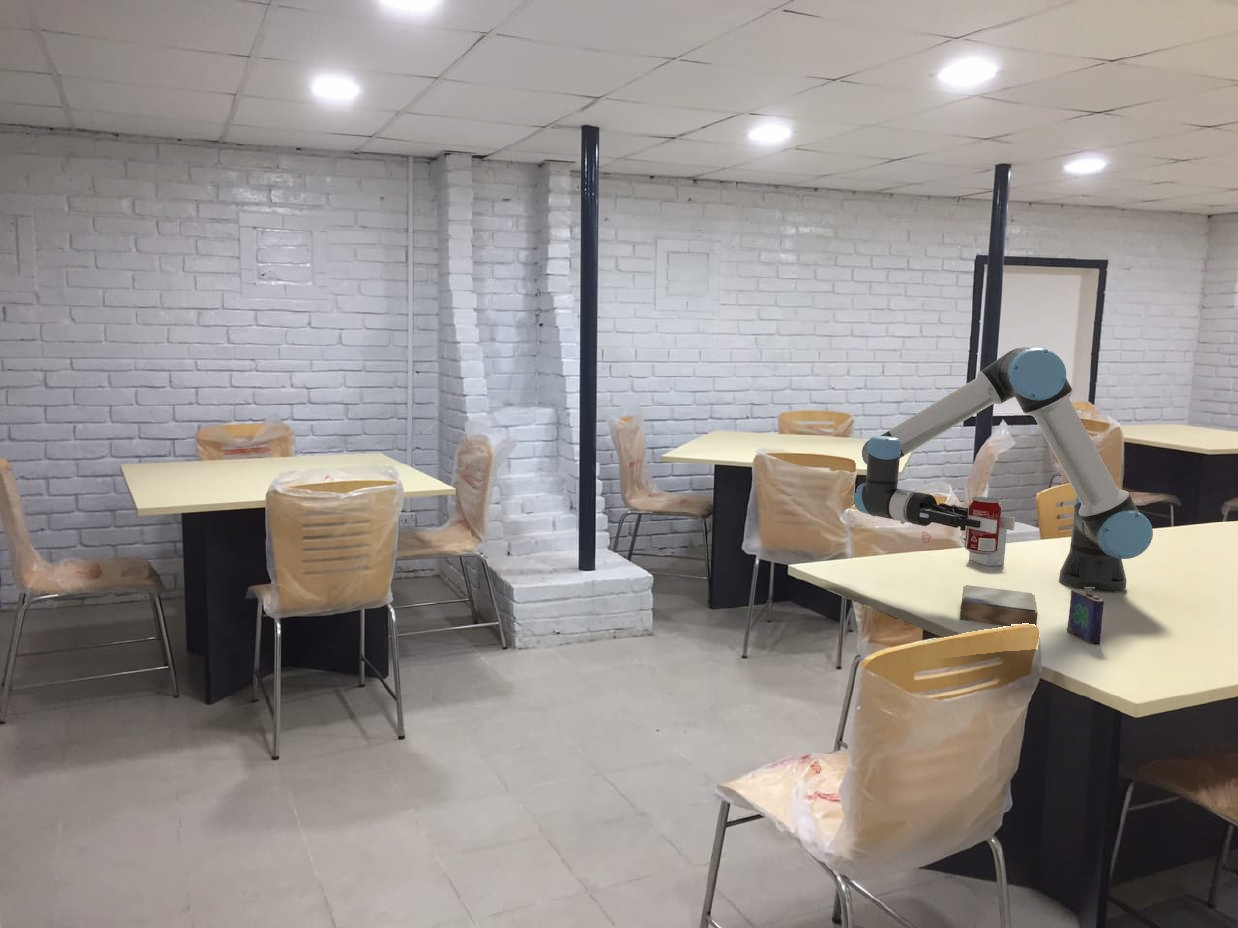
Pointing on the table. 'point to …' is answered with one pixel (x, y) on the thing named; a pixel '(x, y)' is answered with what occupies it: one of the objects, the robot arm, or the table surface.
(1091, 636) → the flask
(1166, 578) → the table surface
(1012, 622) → the riser
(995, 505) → the soda can
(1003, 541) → the small box
